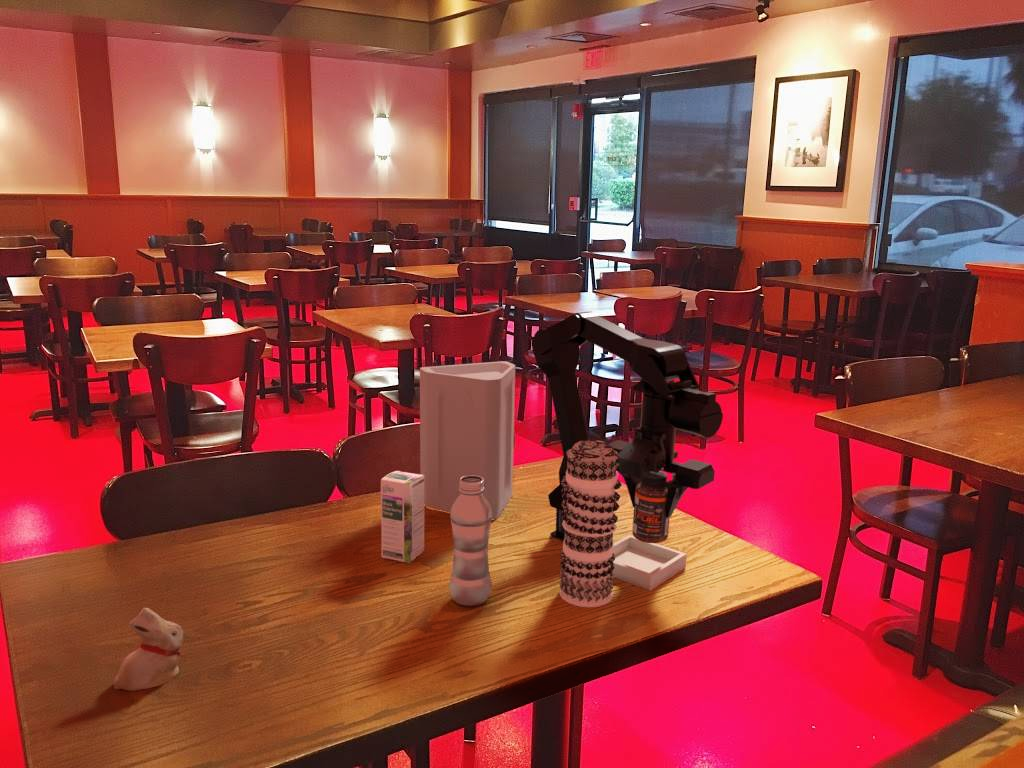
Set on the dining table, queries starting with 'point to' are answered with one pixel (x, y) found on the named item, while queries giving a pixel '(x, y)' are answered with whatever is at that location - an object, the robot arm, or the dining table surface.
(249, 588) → the dining table surface
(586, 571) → the decorative candle
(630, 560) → the tray
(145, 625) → the chocolate bunny
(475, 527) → the plastic bottle
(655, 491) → the supplement bottle
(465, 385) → the triangular storage bin
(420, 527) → the syrup box
